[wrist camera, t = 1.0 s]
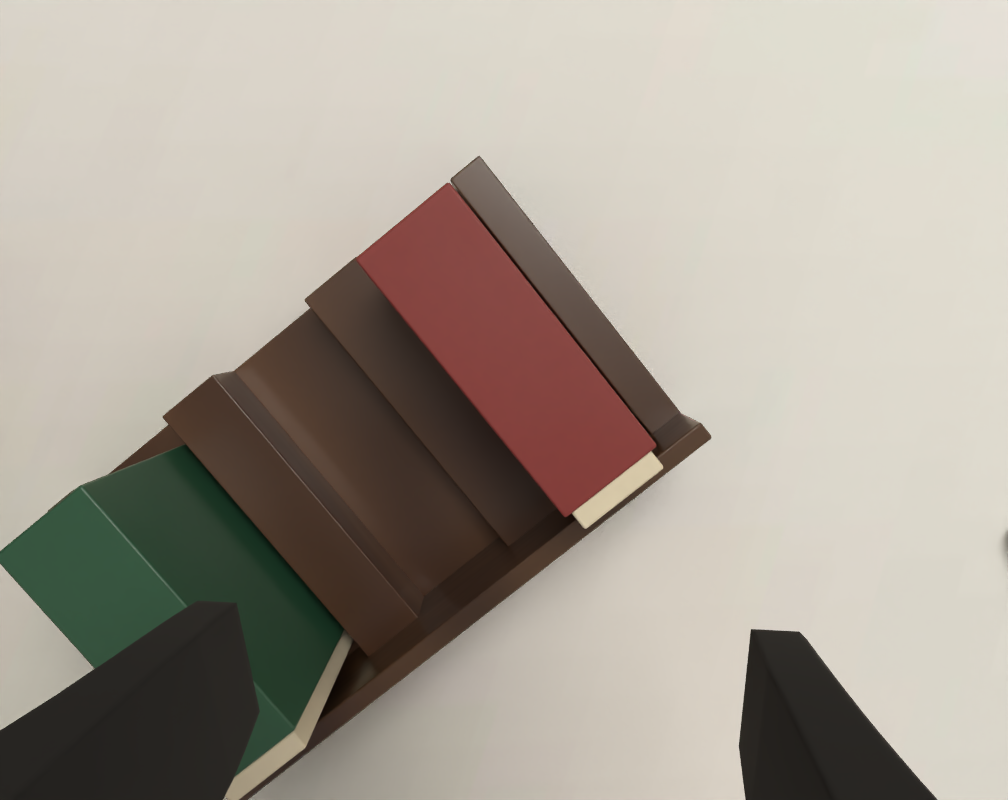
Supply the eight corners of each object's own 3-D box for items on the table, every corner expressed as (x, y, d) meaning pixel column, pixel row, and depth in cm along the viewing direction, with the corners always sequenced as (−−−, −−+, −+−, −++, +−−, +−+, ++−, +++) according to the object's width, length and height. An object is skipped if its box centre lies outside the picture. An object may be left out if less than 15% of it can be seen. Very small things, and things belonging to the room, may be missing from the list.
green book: (297, 680, 28) (224, 814, 20) (132, 491, 27) (-8, 557, 19) (361, 631, 27) (310, 746, 20) (196, 438, 27) (80, 484, 19)
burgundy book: (556, 477, 27) (579, 536, 19) (394, 276, 26) (353, 258, 19) (623, 424, 27) (672, 464, 19) (462, 220, 26) (448, 181, 19)
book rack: (286, 720, 28) (240, 805, 23) (86, 494, 27) (-5, 533, 22) (673, 416, 27) (713, 437, 22) (480, 170, 26) (476, 135, 21)
